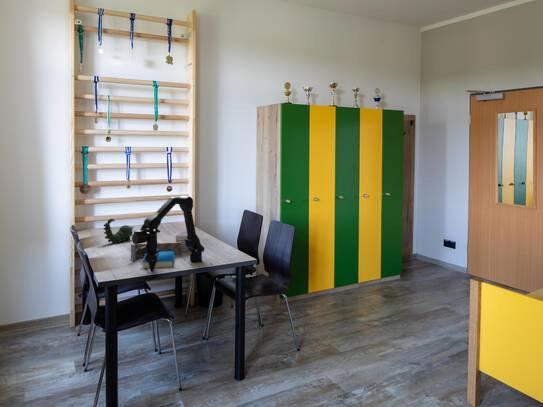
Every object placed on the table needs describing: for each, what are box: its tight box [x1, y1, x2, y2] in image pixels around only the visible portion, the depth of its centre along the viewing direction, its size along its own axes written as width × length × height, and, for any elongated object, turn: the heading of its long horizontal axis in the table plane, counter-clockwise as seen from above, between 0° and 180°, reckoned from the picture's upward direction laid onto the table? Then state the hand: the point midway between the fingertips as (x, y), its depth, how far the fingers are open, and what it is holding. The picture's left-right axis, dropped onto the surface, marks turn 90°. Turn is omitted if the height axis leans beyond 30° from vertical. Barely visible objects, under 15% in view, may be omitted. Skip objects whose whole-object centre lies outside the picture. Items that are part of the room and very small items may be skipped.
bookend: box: [131, 242, 138, 262], centre depth 276 cm, size 2×10×10 cm, turn 11°
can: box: [174, 231, 191, 254], centre depth 297 cm, size 11×11×12 cm
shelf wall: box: [130, 241, 182, 258], centre depth 285 cm, size 30×2×8 cm, turn 101°
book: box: [141, 251, 175, 269], centre depth 271 cm, size 17×4×25 cm
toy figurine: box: [103, 218, 135, 244], centre depth 327 cm, size 9×19×25 cm
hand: (152, 269), depth 250 cm, fingers open, 9 cm apart
